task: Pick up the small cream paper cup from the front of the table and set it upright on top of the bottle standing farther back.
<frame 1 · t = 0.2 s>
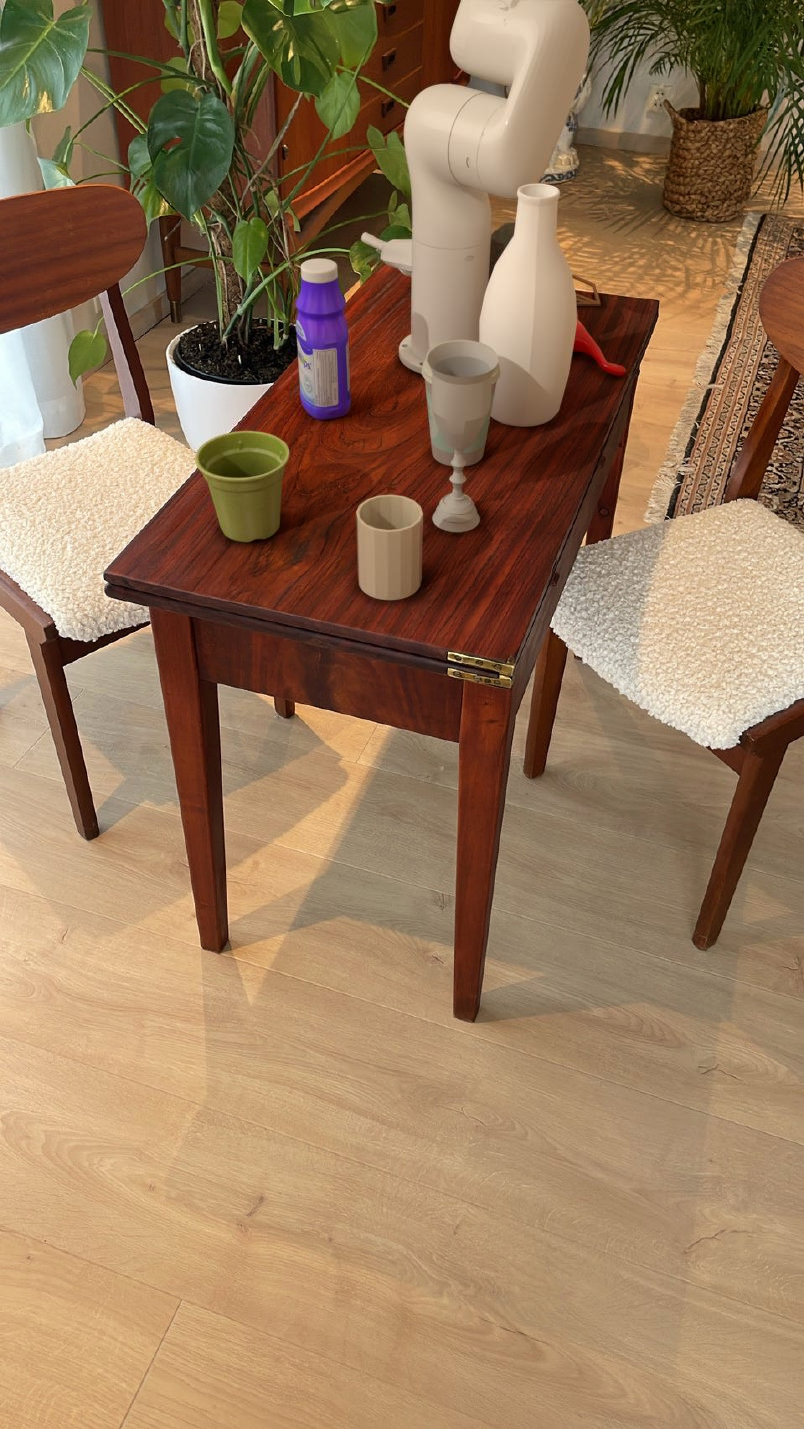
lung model: (508, 280, 154), point 5 cm above the table, touching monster, rock
bottle: (325, 410, 140), on the table
rock: (502, 298, 151), point 5 cm above the table, touching dinosaur, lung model
plant pot: (250, 528, 121), on the table
chalice: (456, 520, 123), on the table
emblem: (566, 294, 164), on the table
bottle 2: (521, 411, 140), on the table
coffee cup: (457, 455, 132), on the table
dinosaur: (560, 318, 153), point 2 cm above the table, touching rock
paper cup: (389, 581, 114), on the table
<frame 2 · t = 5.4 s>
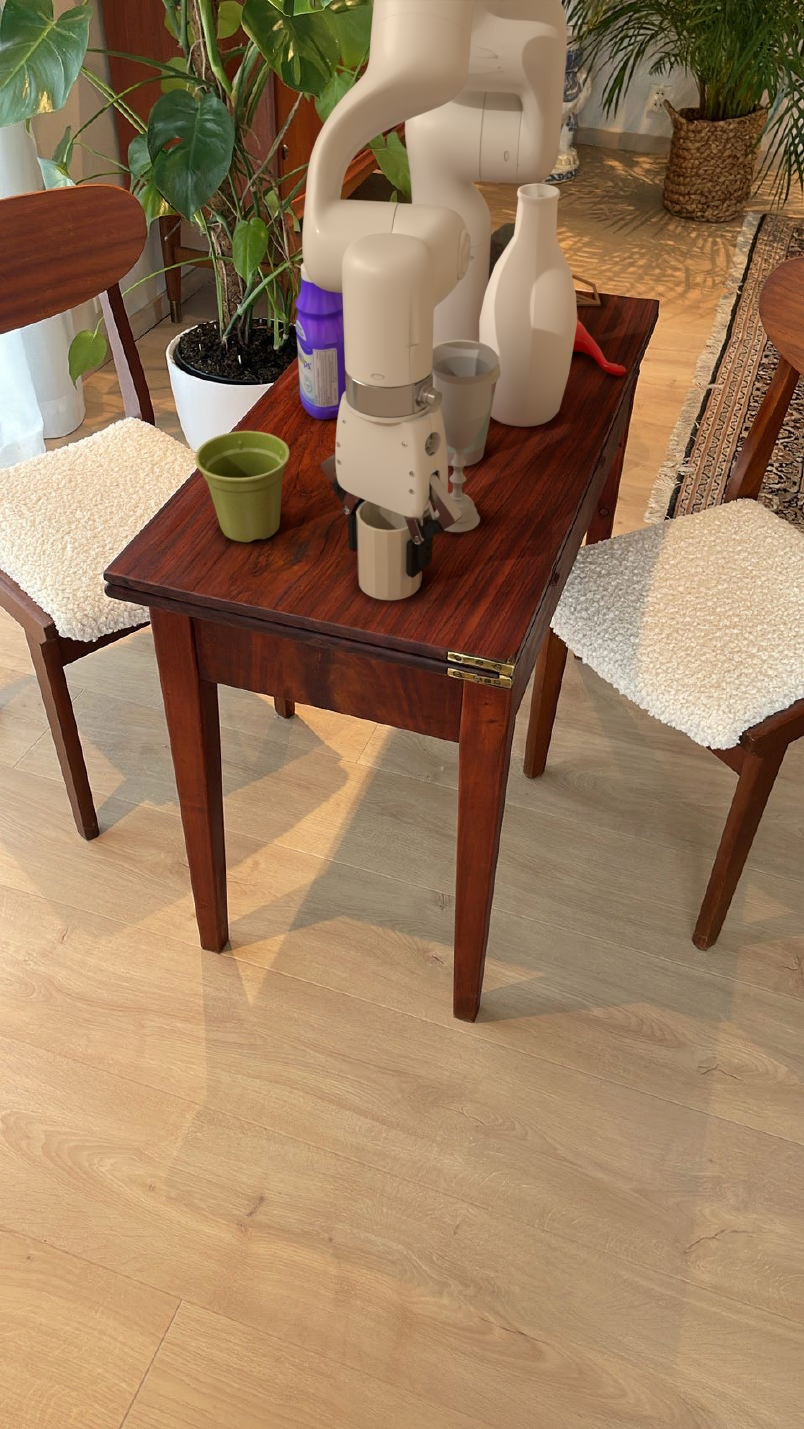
hand: (389, 556, 112), 3 cm above the table, tool pointing down, fingers closed on paper cup, 6 cm apart
rock: (503, 299, 151), point 5 cm above the table, touching arm, dinosaur, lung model
paper cup: (389, 581, 114), on the table, touching gripper
everything else where it was.
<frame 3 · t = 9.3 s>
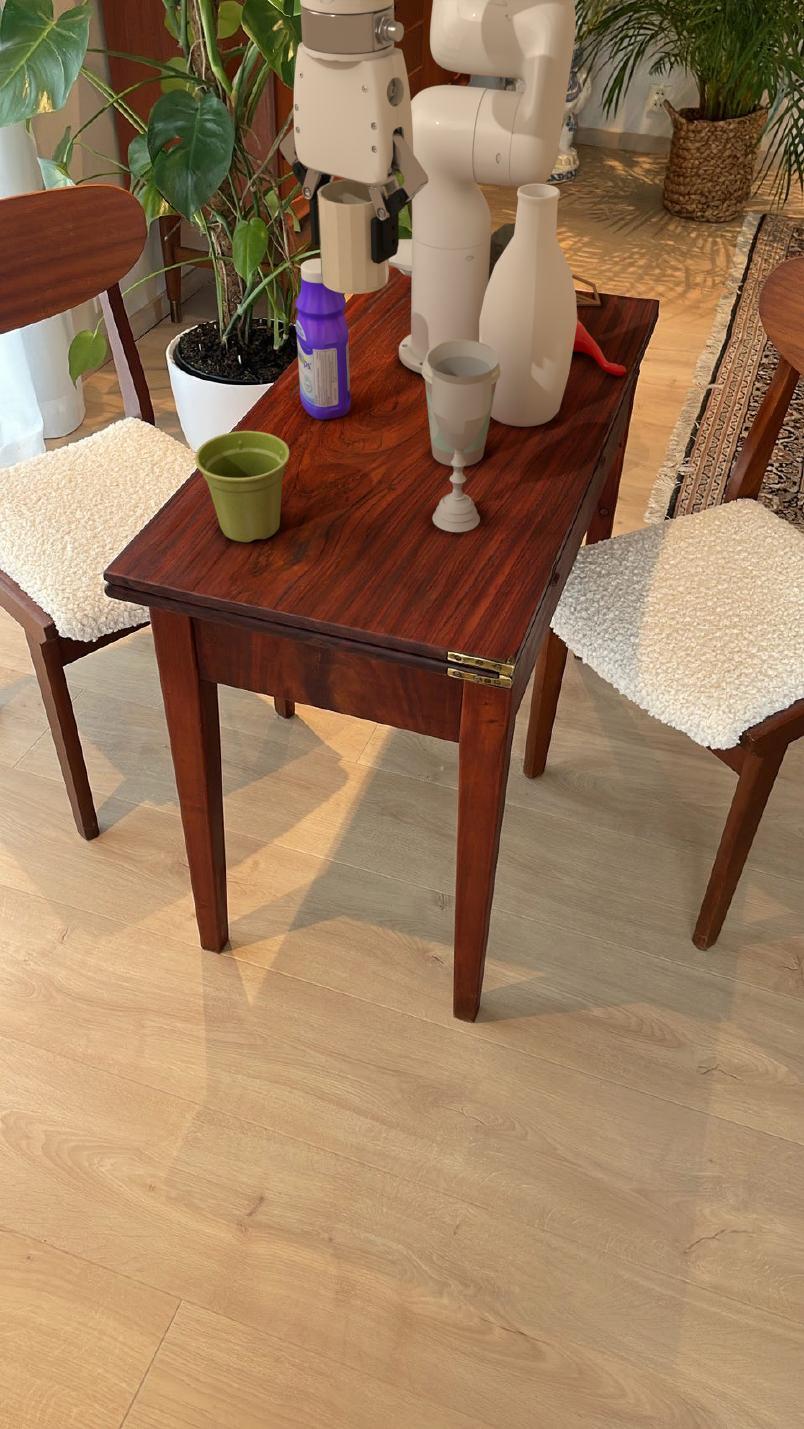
hand: (354, 247, 106), 27 cm above the table, tool pointing down, fingers closed on paper cup, 6 cm apart
rock: (503, 299, 151), point 5 cm above the table, touching dinosaur, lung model
paper cup: (355, 280, 109), point 24 cm above the table, touching gripper
everything else where it was.
when the fingers open (20 cm above the table, at t = 13.4 s): paper cup stays where it is, resting on bottle.
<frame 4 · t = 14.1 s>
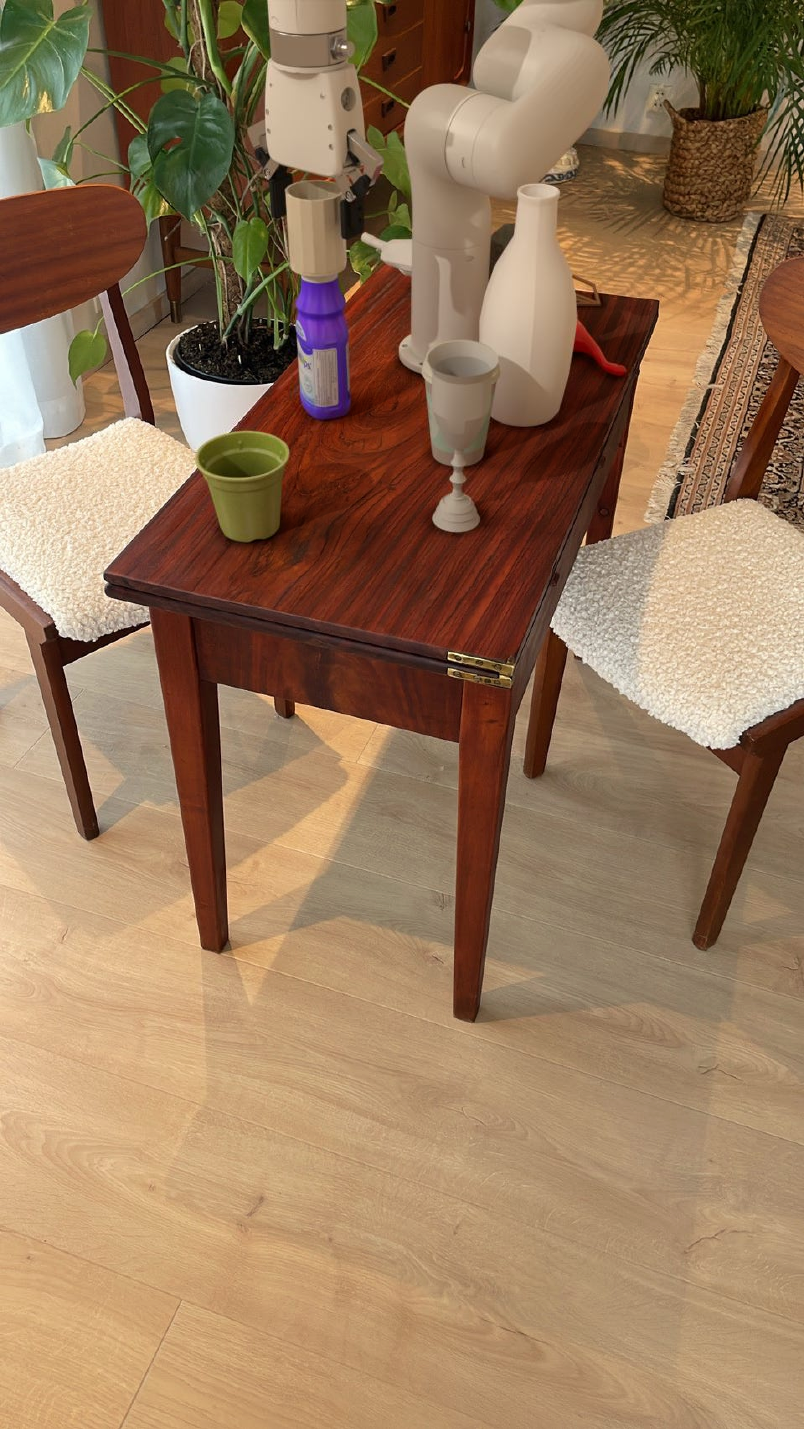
hand: (317, 225, 125), 22 cm above the table, tool pointing down, fingers open, 9 cm apart
bottle: (325, 410, 140), on the table, touching paper cup
rock: (503, 299, 151), point 5 cm above the table, touching arm, dinosaur, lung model
paper cup: (318, 265, 128), point 17 cm above the table, touching bottle
everything else where it was.
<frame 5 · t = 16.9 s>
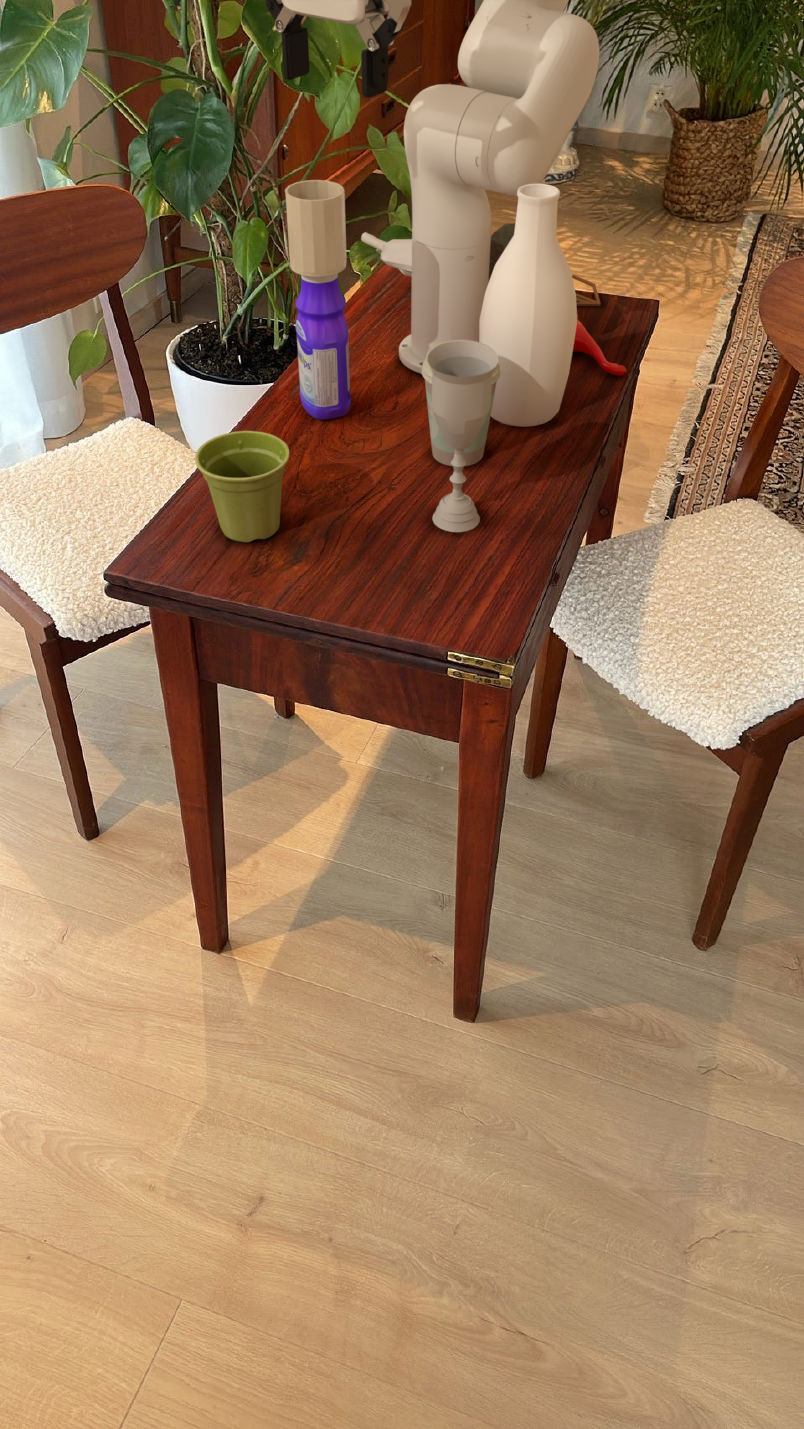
hand: (335, 85, 112), 36 cm above the table, tool pointing down, fingers open, 9 cm apart
rock: (503, 299, 151), point 5 cm above the table, touching dinosaur, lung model
everything else where it was.
at the end: paper cup 0.1 cm off-centre on the bottle, point 17.6 cm above the bottle's base; paper cup tilted 0°; the gripper is holding nothing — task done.
